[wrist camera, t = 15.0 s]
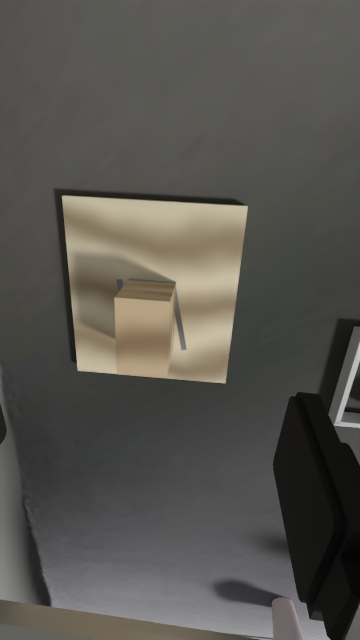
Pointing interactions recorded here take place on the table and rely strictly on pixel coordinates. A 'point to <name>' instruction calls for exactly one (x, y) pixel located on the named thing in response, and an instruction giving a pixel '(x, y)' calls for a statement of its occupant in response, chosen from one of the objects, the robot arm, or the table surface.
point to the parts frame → (346, 385)
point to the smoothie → (285, 620)
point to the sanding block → (144, 327)
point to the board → (155, 275)
